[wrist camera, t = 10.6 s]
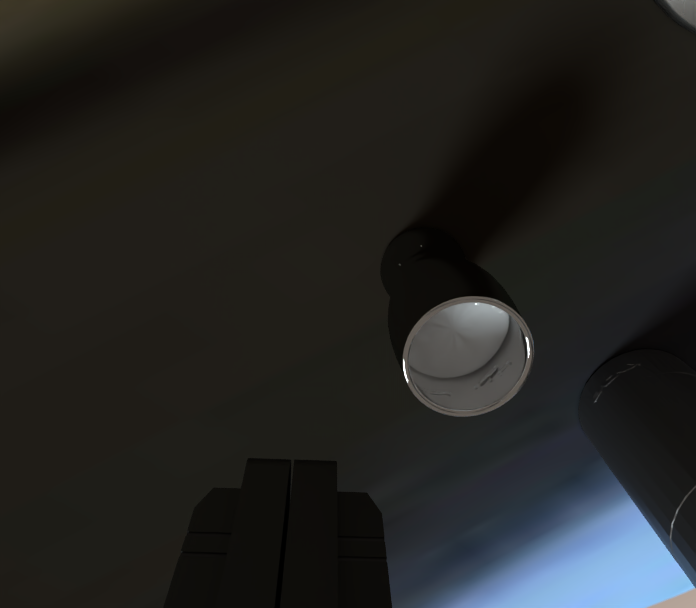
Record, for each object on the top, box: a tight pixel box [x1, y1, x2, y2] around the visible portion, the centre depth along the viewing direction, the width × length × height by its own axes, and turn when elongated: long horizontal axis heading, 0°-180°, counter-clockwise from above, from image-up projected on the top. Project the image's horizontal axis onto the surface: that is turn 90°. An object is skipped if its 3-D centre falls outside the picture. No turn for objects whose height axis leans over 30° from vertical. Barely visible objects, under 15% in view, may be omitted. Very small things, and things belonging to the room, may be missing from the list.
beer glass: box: [380, 227, 534, 416], centre depth 39 cm, size 7×7×15 cm
